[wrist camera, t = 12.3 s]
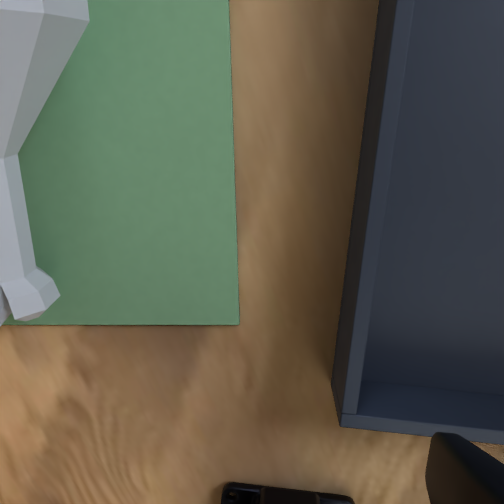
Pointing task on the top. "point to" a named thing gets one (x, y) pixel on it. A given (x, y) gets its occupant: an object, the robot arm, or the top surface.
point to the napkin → (138, 170)
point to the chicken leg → (17, 129)
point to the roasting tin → (428, 229)
